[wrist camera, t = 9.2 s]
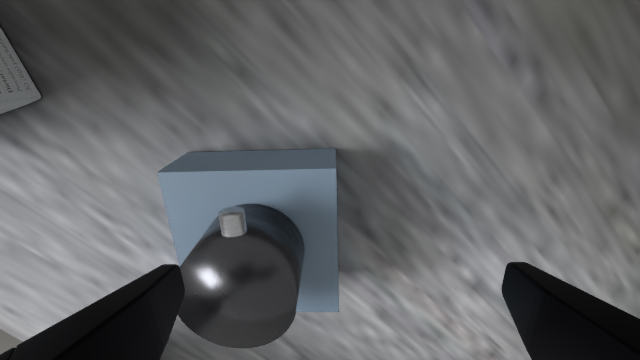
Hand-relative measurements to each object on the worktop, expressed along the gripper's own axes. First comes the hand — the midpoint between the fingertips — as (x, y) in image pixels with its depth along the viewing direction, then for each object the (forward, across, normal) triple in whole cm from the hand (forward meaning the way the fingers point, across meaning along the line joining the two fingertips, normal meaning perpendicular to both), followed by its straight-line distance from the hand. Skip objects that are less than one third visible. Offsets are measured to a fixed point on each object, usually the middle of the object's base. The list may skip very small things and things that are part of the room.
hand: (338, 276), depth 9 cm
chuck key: (+12, +5, +5) cm, 14 cm away
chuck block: (+13, +5, +5) cm, 15 cm away
